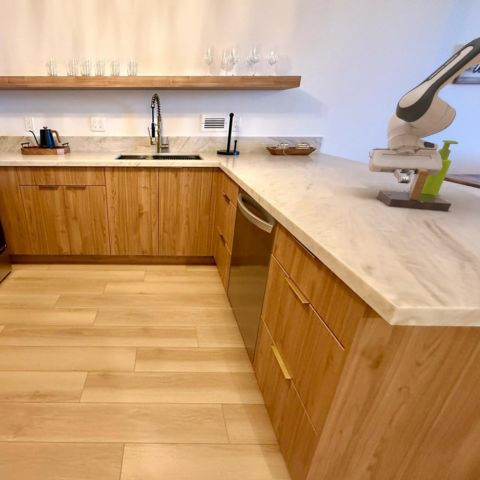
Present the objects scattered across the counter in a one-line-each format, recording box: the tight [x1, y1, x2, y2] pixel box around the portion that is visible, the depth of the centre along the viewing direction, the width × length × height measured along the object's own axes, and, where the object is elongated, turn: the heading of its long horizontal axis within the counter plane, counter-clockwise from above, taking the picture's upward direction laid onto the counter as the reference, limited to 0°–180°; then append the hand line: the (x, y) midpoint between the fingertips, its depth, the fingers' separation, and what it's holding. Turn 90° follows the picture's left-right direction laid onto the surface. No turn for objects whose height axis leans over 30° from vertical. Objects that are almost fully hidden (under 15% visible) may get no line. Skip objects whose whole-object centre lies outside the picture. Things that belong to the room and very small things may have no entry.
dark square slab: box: [376, 189, 452, 212], centre depth 99 cm, size 16×15×3 cm
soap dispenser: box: [421, 140, 459, 197], centre depth 107 cm, size 6×7×20 cm
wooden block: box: [407, 168, 429, 201], centre depth 96 cm, size 11×2×9 cm, turn 144°
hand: (404, 182), depth 98 cm, fingers closed
